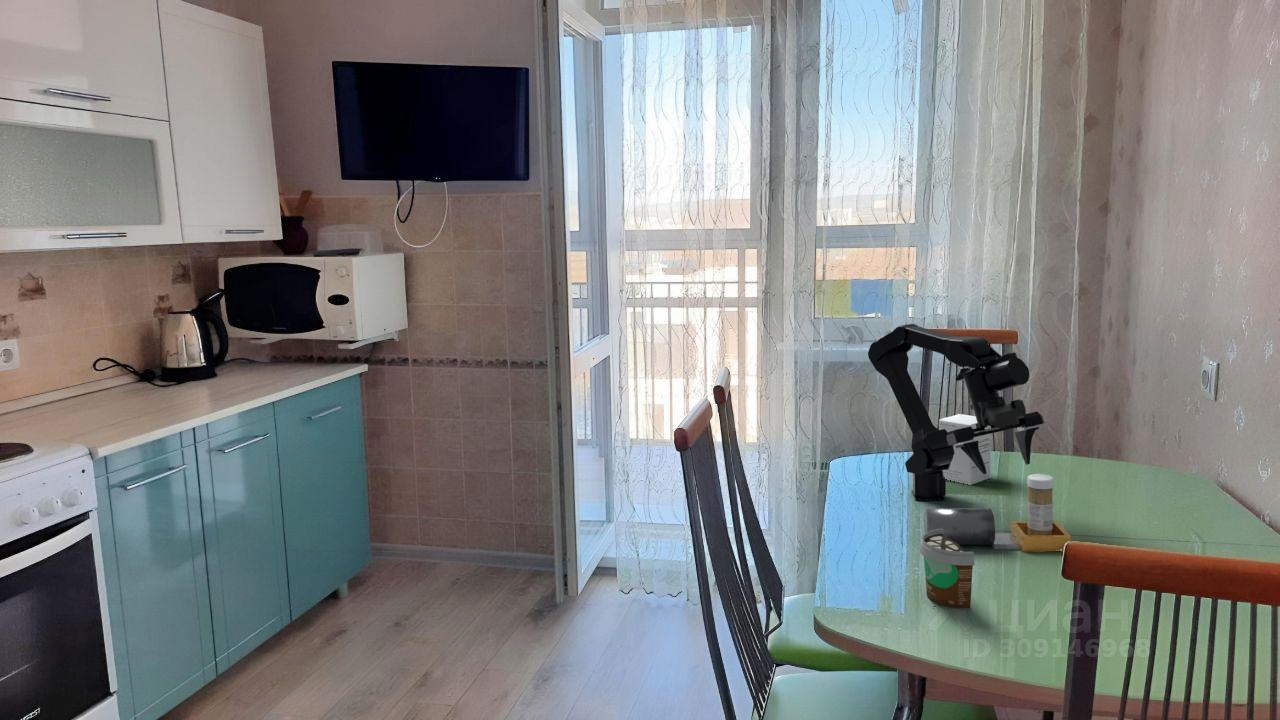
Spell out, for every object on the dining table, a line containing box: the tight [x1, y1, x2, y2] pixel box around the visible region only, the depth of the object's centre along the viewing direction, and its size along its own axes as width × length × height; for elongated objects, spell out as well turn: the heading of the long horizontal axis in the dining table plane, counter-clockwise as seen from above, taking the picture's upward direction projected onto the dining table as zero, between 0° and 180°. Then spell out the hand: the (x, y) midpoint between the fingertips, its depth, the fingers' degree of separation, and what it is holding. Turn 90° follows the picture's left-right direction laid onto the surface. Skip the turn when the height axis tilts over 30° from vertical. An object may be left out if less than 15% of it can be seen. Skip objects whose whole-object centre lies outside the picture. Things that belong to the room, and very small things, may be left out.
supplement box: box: [938, 413, 992, 486], centre depth 211 cm, size 9×9×15 cm
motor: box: [923, 507, 1072, 553], centre depth 168 cm, size 25×9×7 cm, turn 81°
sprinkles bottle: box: [1026, 473, 1055, 535], centre depth 167 cm, size 5×5×14 cm
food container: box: [918, 529, 975, 610], centre depth 145 cm, size 12×6×10 cm, turn 5°
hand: (1006, 469), depth 179 cm, fingers open, 9 cm apart
